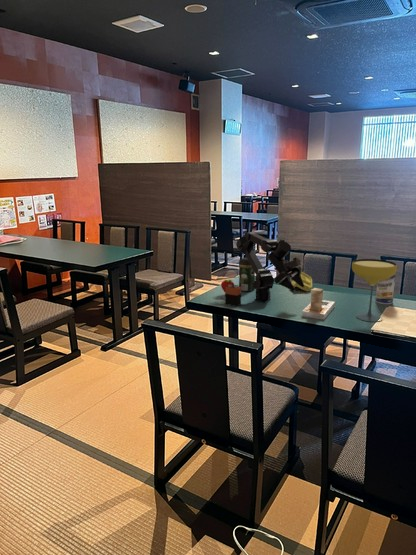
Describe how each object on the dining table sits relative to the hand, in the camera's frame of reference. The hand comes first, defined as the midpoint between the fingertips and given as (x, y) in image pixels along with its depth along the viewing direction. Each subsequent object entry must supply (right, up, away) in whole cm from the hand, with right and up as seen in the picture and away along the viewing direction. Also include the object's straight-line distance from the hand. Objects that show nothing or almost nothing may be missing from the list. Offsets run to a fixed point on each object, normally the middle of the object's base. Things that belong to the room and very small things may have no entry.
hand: (299, 288), depth 189 cm
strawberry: (-32, -4, +29) cm, 43 cm away
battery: (-30, -8, +12) cm, 34 cm away
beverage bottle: (+46, -7, +14) cm, 48 cm away
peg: (+7, -12, -4) cm, 14 cm away
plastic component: (+11, -1, +43) cm, 44 cm away
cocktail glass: (+29, -13, -8) cm, 33 cm away
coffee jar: (-21, -2, +38) cm, 44 cm away
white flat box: (+9, -11, +1) cm, 14 cm away
